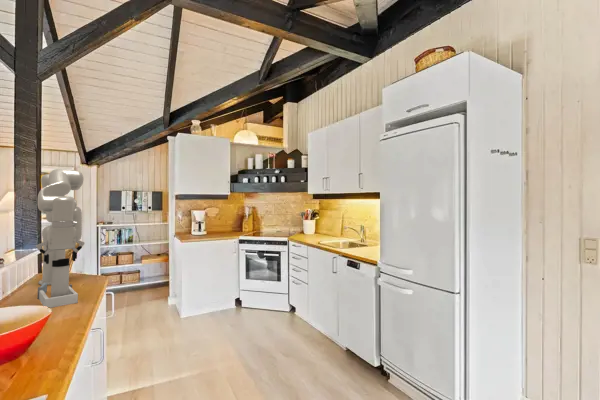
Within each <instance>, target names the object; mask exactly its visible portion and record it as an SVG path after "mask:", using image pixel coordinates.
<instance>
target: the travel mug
mask: <svg viewBox="0 0 600 400" xmlns="http://www.w3.org/2000/svg"><path fill="white" fill-rule="evenodd" d="M69 284H70V258H67V257H65V259H58V260H53V261H52V278H51V285H50V298H52V297H58V296H64V295H68V292H69Z"/></svg>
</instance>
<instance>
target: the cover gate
mask: <svg viewBox="0 0 600 400" xmlns="http://www.w3.org/2000/svg"><path fill="white" fill-rule="evenodd" d="M40 290H43V291H44V293H45V294H46V293H47V292H48V285H47V283H44V284H43V285H41V286H39V287H38V286H37V293H36V294H37V295H36V298H37V300H39V291H40Z"/></svg>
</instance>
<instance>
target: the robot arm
mask: <svg viewBox="0 0 600 400" xmlns="http://www.w3.org/2000/svg"><path fill="white" fill-rule="evenodd" d="M40 183H41V189H40V190H39V192H38V195H37V208H38V210H39V211H40V212H43V213H46V214H45V215H46V216H45V219H46V221H47V222H49V223H51V225H47V226H45V227H44V228H43V229H42V231H41V236H42V242H41V243H40V242H39V243H38V244H36V245H35V247H36V249H37V250H38V252H40V253H41V254H43V257H42V259H43V261H42V278H41V279H40V280H39V281H38V285H41V286H42V285H43V284H44V283H47V286H51V278H52V261H53V260H58V259H66V250H72V253H71V254H72V255H71V260H72V261H73V262H75V261H76V260H77V258H78V253H79V252H80V251H81V249H82V248H83V247H84V245H85V242H84V241H82V240H81V239H82V236H83V235H82V232H83V231H82V230H83V224H82V223H83V216H82V215H83V213H82V209H81V208H80V207H79V206H77V205H78V204H77V200H76V199H75V198H74V197H73V196H66V195H68V194H69V193H70V192H71V191H78V190H80V189H81V188H82V185H83V184H84V176H83V173H82V172H81V171H80V170H74V169H62V168H58V169H54V170H50V172H49V173H46V174H43V175H42V176H41V178H40ZM77 243H78V244H79V245H78V246H77ZM42 247H43V248H42Z"/></svg>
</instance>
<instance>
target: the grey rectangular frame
mask: <svg viewBox="0 0 600 400" xmlns="http://www.w3.org/2000/svg"><path fill="white" fill-rule="evenodd" d="M38 300H39V302H40V304H41V305H42V306H43V307H44V306H47V307H50V308H49V309H51V308H57V307H61V306H68V305H73V304H78V302H79V293H78V292H76V291H75V290H74V289H73V283H69V292H68V295H64V296H58V297H52V298H51V297H49V296H48V295H47V294H46V293H44V291H43V290H40V291H39V299H38Z"/></svg>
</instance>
